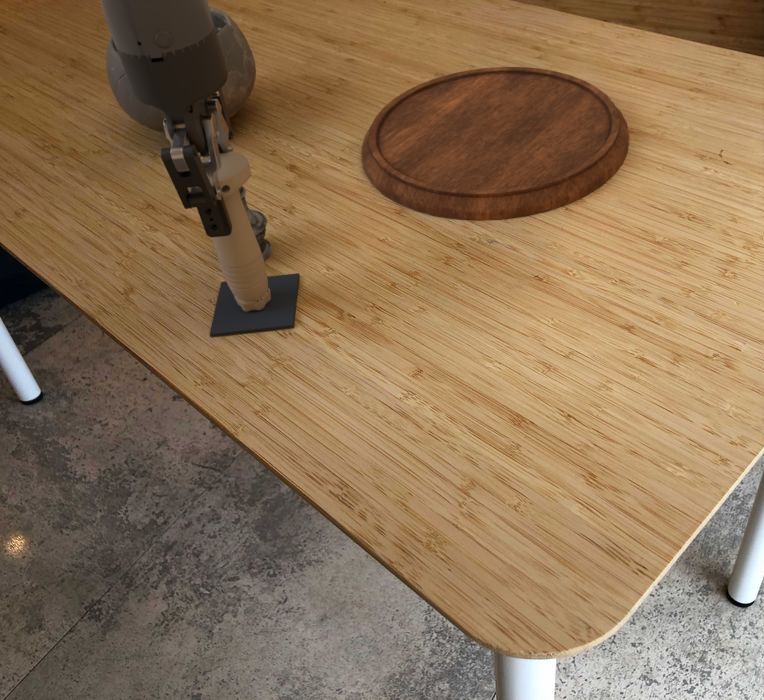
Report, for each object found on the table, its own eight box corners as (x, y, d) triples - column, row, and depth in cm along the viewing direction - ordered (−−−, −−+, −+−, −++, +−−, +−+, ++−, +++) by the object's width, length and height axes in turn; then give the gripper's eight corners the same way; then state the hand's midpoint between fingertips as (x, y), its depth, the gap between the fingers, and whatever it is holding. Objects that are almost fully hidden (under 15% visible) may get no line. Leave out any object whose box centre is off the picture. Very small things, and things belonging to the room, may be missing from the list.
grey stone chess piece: (281, 236, 92) (253, 137, 84) (264, 271, 88) (233, 170, 79) (230, 235, 93) (197, 137, 84) (211, 269, 89) (174, 169, 80)
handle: (295, 300, 83) (257, 166, 73) (236, 329, 81) (187, 195, 70) (273, 277, 86) (233, 146, 76) (215, 305, 84) (165, 173, 73)
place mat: (210, 337, 81) (209, 334, 80) (222, 284, 87) (221, 281, 86) (293, 328, 81) (293, 324, 80) (299, 275, 86) (299, 272, 86)
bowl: (293, 100, 115) (270, 6, 106) (208, 167, 104) (174, 69, 95) (193, 82, 122) (164, -8, 113) (103, 143, 111) (63, 49, 102)
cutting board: (674, 111, 104) (675, 92, 102) (540, 252, 86) (540, 231, 84) (460, 63, 119) (458, 46, 117) (307, 175, 101) (303, 156, 99)
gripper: (134, -1, 70) (196, 176, 81) (91, 77, 59) (169, 268, 71) (225, -12, 70) (274, 167, 81) (197, 65, 59) (258, 258, 71)
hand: (225, 213), depth 76 cm, fingers closed on handle, 5 cm apart
